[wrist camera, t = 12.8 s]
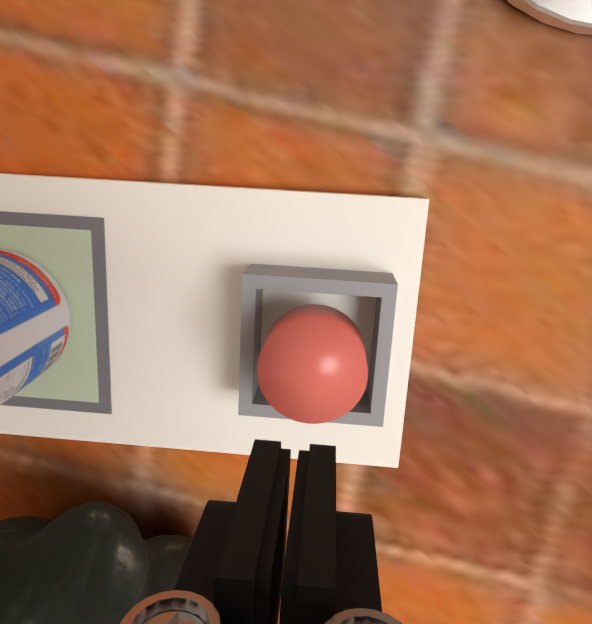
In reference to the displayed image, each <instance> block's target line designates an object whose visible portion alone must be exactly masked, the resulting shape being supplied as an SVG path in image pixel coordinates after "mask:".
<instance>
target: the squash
mask: <svg viewBox="0 0 592 624" xmlns="http://www.w3.org/2000/svg"><path fill="white" fill-rule="evenodd" d="M192 540H193V539H192V538H190V537H188V536H181V535H159V536H154V537H151V538H148V539H145V540H144V539H143V538H142V536H141V534H140V532H139V529H138V527H137V524H136V523H135V521H134V520H133V519H132V517H131V516H130V515H129V514H128V513H127V512H125V511H124V510H123V509H122V508H120V507H118V506H115V505H113V504H110V503H106V502H99V501H91V502H87V503H84V504H81V505H78V506H75V507H72V508H70V509H68V510H67V511H65V512H63V513H62V514H60V515H59V516H58V517H56V518H55V519H54V520H53V521H51V520H48V519H45V518H41V517H32V516H31V517H16V518H8V519H5V520H1V521H0V624H120V622H121V621H122V619H123V618H124V617H125V615H126V614H127V613H128V612H129V611H130V610H131V609H132V608H133V606H135V605H136V604H138V603H139V602H141V601H142V600H144V599H145V598H147V597H149V596H152V595H155V594H157V593H160V592H166V591H173V590H174V588H175V585H176V582H177V580H178V577H179V575H180V572H181V569H182V567H183V564H184V561H185V559H186V556H187V554H188V551H189V548H190V546H191V543H192Z"/></svg>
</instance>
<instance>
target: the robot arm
mask: <svg viewBox="0 0 592 624" xmlns="http://www.w3.org/2000/svg"><path fill="white" fill-rule="evenodd" d="M507 1H508V2H509V3H510V4H511V5H513V6H514V7H516V8H518V9H519V10H521V11H523V12H525V13H526V14H528V15H530V16H532V17H533V18H535V19H537V20H539V21H540V22H542V23H545V24H548V25H551V26H554V27H557V28H560V29H564V30H567V31H570V32H573V33H577V34H587V35H592V0H507ZM290 458H291V449H282V448H281V441H271V440H259V439H255V441H254V444H253V447H252V450H251V454H250V457H249V461H248V464H247V467H246V471H245V474H244V478H243V481H242V484H241V488H240V491H239V495H238V498H237V501H236V502H226V501H215V500H209V501H208V502H207V504H206V506H205V509H204V511H203V514H202V517H201V519H200V522H199V525H198V527H197V530H196V533H195V535H194V538H193V540H192V543H191V546H190V548H189V551H188V554H187V556H186V559H185V561H184V564H183V567H182V569H181V572H180V575H179V577H178V580H177V582H176V585H175V588H174V590H173V591H166V592H160V593H157V594H155V595H152V596H149V597H147V598H145V599H144V600H142V601H141V602H139V603H138V604H136V605H135V606H133V608H132V609H131V610H130V611H129V612H128V613H127V614H126V615H125V617H124V618H123V619H122V621H121V622H120V624H277V622H278V614H279V607H280V623H279V624H402V623H401V622H399V621H398V620H396V619H395V618H393V617H391V616H390V615H388V614H385V613H382V607H381V597H380V587H379V578H378V568H377V558H376V549H375V539H374V529H373V520H372V515H371V514H362V513H350V512H339V511H336V446H331V445H319V444H310V448H309V451H306V450H299V453H298V461H297V469H296V477H295V485H294V492H293V500H292V508H291V516H290V524H289V531H288V539H287V547H286V555H285V546H286V528H287V511H288V493H289V476H290ZM280 599H281V605H280Z"/></svg>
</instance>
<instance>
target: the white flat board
mask: <svg viewBox="0 0 592 624" xmlns="http://www.w3.org/2000/svg"><path fill="white" fill-rule="evenodd" d="M428 205H429V199H427V198H419V197H402V196H385V195H368V194H351V193H334V192H317V191H300V190H283V189H266V188H249V187H231V186H214V185H197V184H180V183H163V182H146V181H129V180H112V179H95V178H78V177H61V176H44V175H27V174H10V173H0V249H3V250H9V251H13V252H17V253H19V254H22V255H24V256H26V257H28V258H30V259H32V260H34V261H35V262H37V263H38V264H40V265H41V266H42V267H43V268H45V269H46V270H47V271H48V272H49V273H50V274H51V275H52V276H53V277H54V279H55V280H56V281H57V282H58V284H59V286H60V287H61V289H62V291H63V293H64V295H65V297H66V300H67V303H68V306H69V311H70V320H71V326H70V334H69V338H68V341H67V344H66V346H65V348H64V350H63V352H62V354H61V355H60V357H59V358H58V359H57V361H56V362H55V363H54V364H53V365H52V366H51V367H49V368H48V369H47V370H46V371H45V372H44V373H42V374H41V375H40V376H39V377H37V378H36V379H35V380H34V381H32V382H31V383H29V384H28V385H27V386H25V387H24V388H23V389H21V390H20V391H19V392H17V393H16V394H15V395H13V396H12V397H11V398H9V399H8V400H7V401H5V402H4V403H3V404H1V405H0V434H12V435H23V436H35V437H47V438H58V439H70V440H81V441H93V442H105V443H116V444H128V445H140V446H151V447H163V448H175V449H186V450H198V451H209V452H221V453H233V454H244V455H250V454H251V450H252V447H253V444H254V441H255V439H259V440H271V441H281V448H282V449H291V459H298V453H299V450H306V451H309V448H310V444H319V445H331V446H336V462H337V463H349V464H361V465H372V466H384V467H396V468H398V464H399V456H400V447H401V438H402V430H403V421H404V412H405V404H406V395H407V386H408V378H409V369H410V361H411V352H412V343H413V335H414V326H415V317H416V309H417V300H418V291H419V283H420V274H421V266H422V257H423V248H424V240H425V231H426V222H427V214H428ZM308 304H320V305H326V306H330V307H333V308H335V309H337V310H339V311H341V312H343V313H344V314H345V315H347V316H348V317H349V318H350V319H351V320H352V321H353V322H354V323H355V325H356V326H357V327H358V329H359V331H360V333H361V335H362V338H363V341H364V346H365V353H366V360H367V367H368V379H367V385H366V388H365V391H364V393H363V395H362V397H361V399H360V400H359V402H358V403H357V404H356V405H355V407H354V408H353V409H351V410H350V411H349V412H348V413H346V414H345V415H344V416H342V417H340V418H338V419H336V420H333V421H330V422H326V423H319V424H307V423H301V422H297V421H294V420H291V419H289V418H287V417H285V416H283V415H282V414H280V413H279V412H277V411H276V410H275V409H274V408H273V407H272V406H271V405H270V404H269V403H268V401H267V400H266V399H265V397H264V395H263V393H262V391H261V389H260V386H259V383H258V378H257V364H258V359H259V355H260V353H261V350H262V348H263V345H264V343H265V340H266V338H267V335H268V333H269V331H270V329H271V327H272V326H273V324H274V323H275V322H276V320H277V319H278V318H279V317H280V316H282V315H283V314H284V313H286V312H287V311H289V310H291V309H293V308H296V307H298V306H302V305H308Z"/></svg>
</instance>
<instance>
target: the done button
mask: <svg viewBox="0 0 592 624" xmlns="http://www.w3.org/2000/svg"><path fill="white" fill-rule="evenodd" d="M257 378H258V383H259V386H260V389H261V391H262V393H263V395H264V397H265V399H266V400H267V401H268V403H269V404H270V405H271V406H272V407H273V408H274V409H275V410H276V411H277V412H279V413H280V414H282V415H283V416H285V417H287V418H289V419H291V420H294V421H297V422H301V423H307V424H319V423H326V422H330V421H333V420H336V419H338V418H340V417H342V416H344V415H345V414H346V413H348V412H349V411H350V410H351V409H353V408H354V407H355V405H356V404H357V403H358V402H359V400H360V399H361V397H362V395H363V393H364V391H365V388H366V385H367V379H368V367H367V360H366V353H365V346H364V341H363V338H362V335H361V333H360V331H359V329H358V327H357V326H356V325H355V323H354V322H353V321H352V320H351V319H350V318H349V317H348V316H347V315H345V314H344V313H343V312H341V311H339V310H337V309H335V308H333V307H330V306H326V305H320V304H308V305H302V306H298V307H296V308H293V309H291V310H289V311H287V312H286V313H284V314H283V315H282V316H280V317H279V318H278V319H277V320H276V322H275V323H274V324H273V326H272V327H271V329H270V331H269V333H268V335H267V338H266V340H265V343H264V345H263V348H262V350H261V353H260V355H259V359H258V364H257Z"/></svg>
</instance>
